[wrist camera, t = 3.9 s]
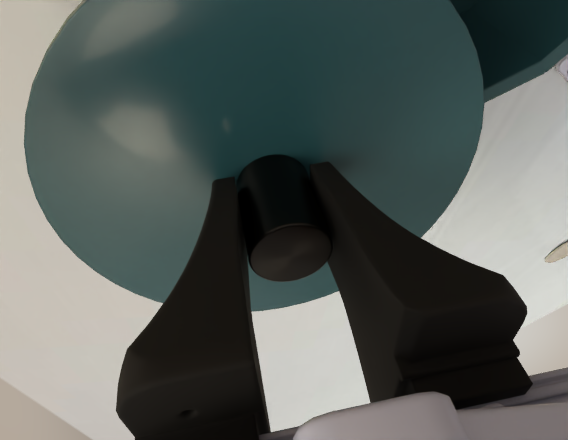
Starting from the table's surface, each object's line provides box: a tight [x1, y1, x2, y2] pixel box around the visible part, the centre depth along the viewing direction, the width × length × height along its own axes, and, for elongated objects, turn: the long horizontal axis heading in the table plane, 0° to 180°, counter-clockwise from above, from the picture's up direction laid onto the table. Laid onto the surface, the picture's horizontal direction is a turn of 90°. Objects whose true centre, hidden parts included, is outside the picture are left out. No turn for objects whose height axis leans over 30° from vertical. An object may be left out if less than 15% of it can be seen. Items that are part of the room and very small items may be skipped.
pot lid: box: [24, 0, 484, 312], centre depth 14 cm, size 14×14×4 cm
